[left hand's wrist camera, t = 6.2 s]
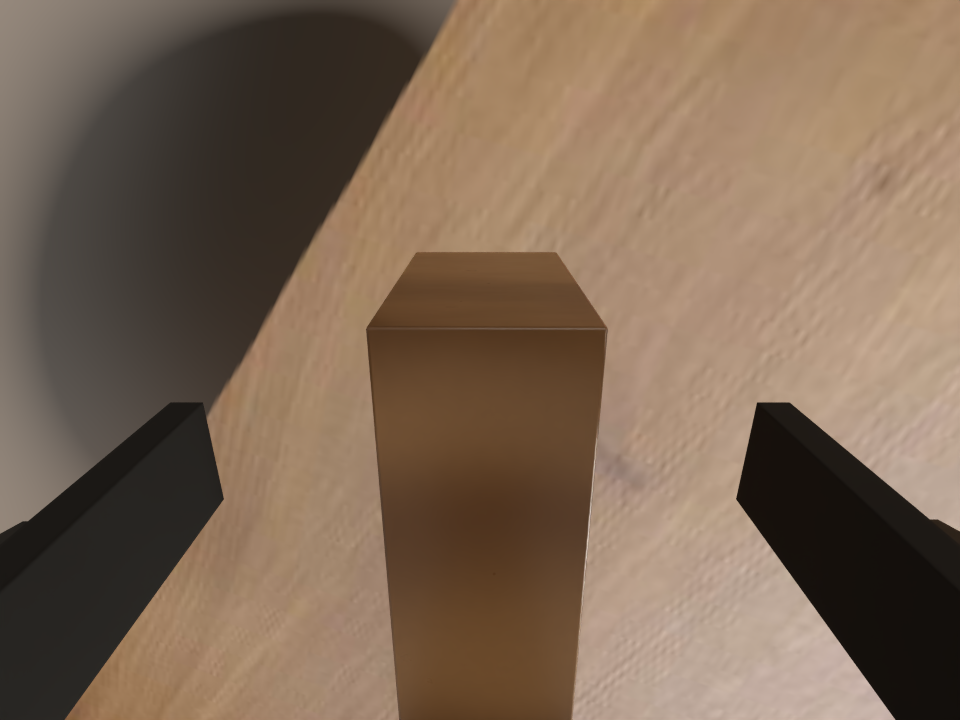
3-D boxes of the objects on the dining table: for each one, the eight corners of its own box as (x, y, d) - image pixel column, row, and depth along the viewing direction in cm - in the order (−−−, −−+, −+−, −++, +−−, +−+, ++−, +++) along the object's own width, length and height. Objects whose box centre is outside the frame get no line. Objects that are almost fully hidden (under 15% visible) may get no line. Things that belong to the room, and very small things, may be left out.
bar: (415, 252, 19) (365, 327, 11) (557, 252, 19) (609, 327, 11) (438, 753, 29) (421, 983, 21) (531, 754, 29) (548, 984, 21)
